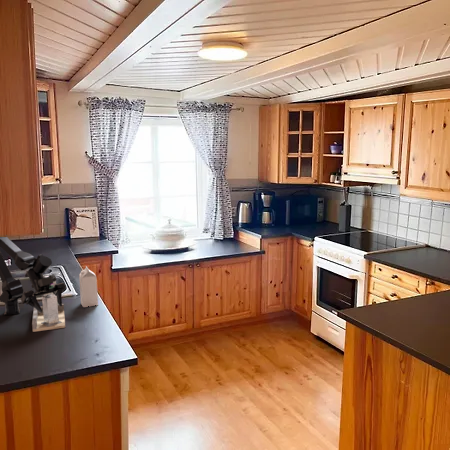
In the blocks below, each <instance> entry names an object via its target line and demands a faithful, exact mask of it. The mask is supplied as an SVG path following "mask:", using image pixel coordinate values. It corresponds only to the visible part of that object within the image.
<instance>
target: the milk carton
mask: <svg viewBox="0 0 450 450" xmlns="http://www.w3.org/2000/svg"><path fill="white" fill-rule="evenodd" d="M78 277H79V291H80V292H79V293H80V304H81V305H82V308H88V306H89V307H95V305H96V306H98V305H99V298H98V284H97V283H98V281H97V275H96V274H95V272H93V271H92V270H90V269H89V268H88V266H87V265H85V268H84V269H82V270H81V271H80V273H79V275H78Z"/></svg>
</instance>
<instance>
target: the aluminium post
mask: <svg viewBox="0 0 450 450" xmlns="http://www.w3.org/2000/svg"><path fill="white" fill-rule="evenodd" d="M41 301H42V306H43V315H44V323H46V324H48V325H51V324H55V323H58V322H59V317H58V304H57V296H55V295H53V294H50V295H46V296H43V295H41Z"/></svg>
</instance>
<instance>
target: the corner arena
mask: <svg viewBox="0 0 450 450" xmlns="http://www.w3.org/2000/svg"><path fill="white" fill-rule="evenodd" d="M40 307H41V309H42V312H39V311H38V310H37V309H35V308H34V307H33V313H32V321H31V326H32V332H41V331H48V330H57V329H64V328H66V317H65V304H64V303H62V306H60V305H59V304H58V317H59V322H58V323H55V324H51V325H48V324H46V323H44V315H43V305H40Z"/></svg>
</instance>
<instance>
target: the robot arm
mask: <svg viewBox="0 0 450 450" xmlns="http://www.w3.org/2000/svg"><path fill="white" fill-rule="evenodd" d="M0 249H2V250H3V251H4V252H6V253H7V254H8V255H9V256H10V257H11V258H12V259H13V261H14V264H15V266H16V267H17V268H18V269H19V270H20V271H25V270H26V272H25V275H24V278H28V279H29V281H30V283H31V288H32V290H27V291H24V288H23V287H24V285H22V282H21V280H20V279H18V278H17V279H16V278H15V277H13V274H12V273H11V271H10V269H9V266H8V265H7V262H6V261H5V258H4V256H3V254H2V252H1V251H0V280H1V282H2V284H1V294H0V303H4V307H5V308H4V309H5V311H4V314H3V315H4V316H9V315H10V316H11V315H17V314H20V313H21V308H20V307H19V299H20V301H21V304H25V305H29V306H31V307H32V308H33V309H34V308H35V309H37V310H38V311H39V312H42V309H41V307H40V306H41V305H40V303H39V301H38V299H37V297H42V296H43V295H45V294H48V293H52V292H53V294H55V296H57V302H58V304H59V305H60V306H62V304H63V299H62V298H63V297H62V294H63V293H64V292H65V289H66V288H67V286H66V284H65V283H64V282H59V283H56V284H55V286H54V288H49V287H51V284H53V282H55V281H56V282H57V276H56V275H55V274H53V273H52V274H50V275H48V276H49V277H45V276H44V275H43V274H45V273H46V272H47V270H48V269H49V268H50V267H51V266H52V264H53V262H52V259H51V258H49V256H45V255H43V254H38V256H37V257H35V256H34V255H32V254H31V253H29V252H26V251H24V250H22V249H20V248H19V247H18V246H17V245H16V244H15V243H14V242H13V241H12V240H11V239H9V238H8V236H7V237H0ZM33 289H34V290H33Z"/></svg>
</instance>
